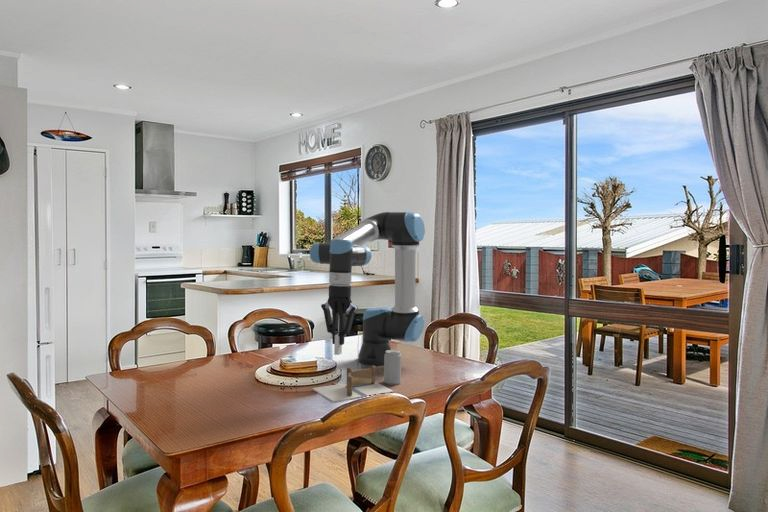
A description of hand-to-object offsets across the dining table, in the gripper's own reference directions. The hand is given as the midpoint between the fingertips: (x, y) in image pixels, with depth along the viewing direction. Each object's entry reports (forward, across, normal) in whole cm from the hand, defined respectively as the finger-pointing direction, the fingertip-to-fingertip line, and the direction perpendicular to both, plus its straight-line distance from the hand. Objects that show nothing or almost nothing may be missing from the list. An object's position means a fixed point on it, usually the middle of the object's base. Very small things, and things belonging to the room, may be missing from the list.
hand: (337, 353), depth 184 cm
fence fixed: (+15, +3, +14) cm, 21 cm away
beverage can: (+15, +11, +24) cm, 31 cm away
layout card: (+15, +2, +9) cm, 17 cm away
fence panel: (+14, +3, +5) cm, 15 cm away
